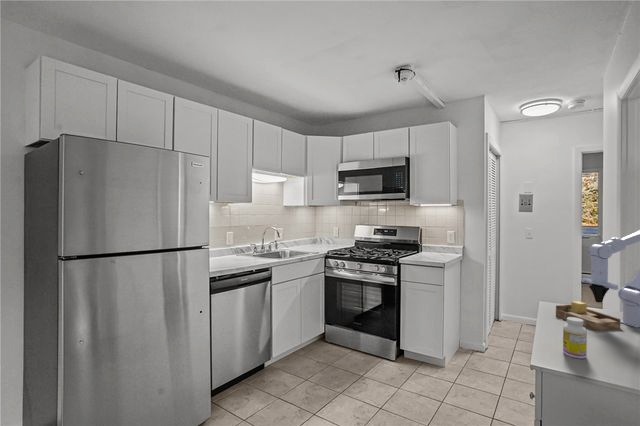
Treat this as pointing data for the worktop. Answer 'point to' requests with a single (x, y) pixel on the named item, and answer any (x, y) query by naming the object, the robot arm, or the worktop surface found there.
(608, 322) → the box
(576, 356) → the supplement bottle
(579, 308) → the ochre block
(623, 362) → the worktop surface
